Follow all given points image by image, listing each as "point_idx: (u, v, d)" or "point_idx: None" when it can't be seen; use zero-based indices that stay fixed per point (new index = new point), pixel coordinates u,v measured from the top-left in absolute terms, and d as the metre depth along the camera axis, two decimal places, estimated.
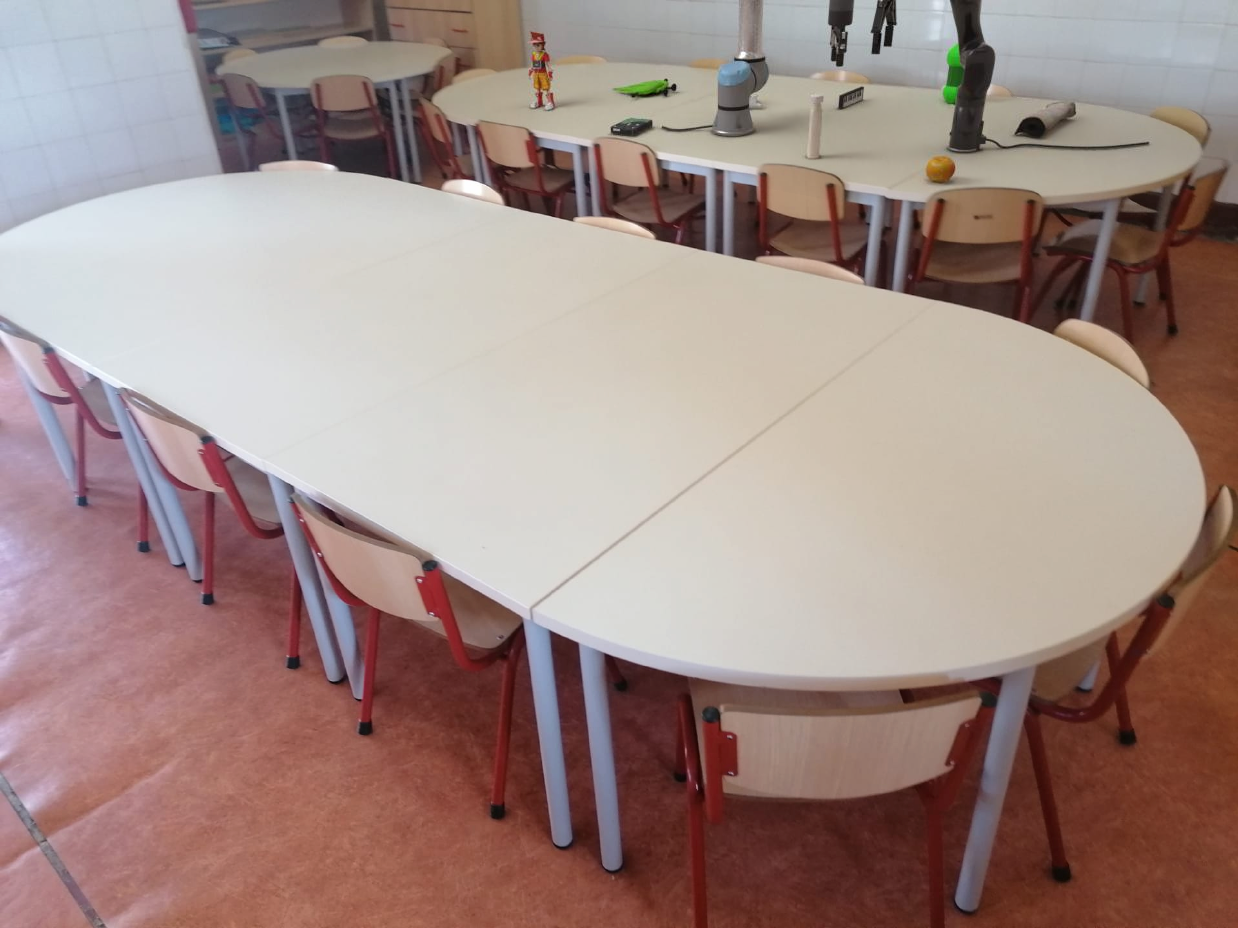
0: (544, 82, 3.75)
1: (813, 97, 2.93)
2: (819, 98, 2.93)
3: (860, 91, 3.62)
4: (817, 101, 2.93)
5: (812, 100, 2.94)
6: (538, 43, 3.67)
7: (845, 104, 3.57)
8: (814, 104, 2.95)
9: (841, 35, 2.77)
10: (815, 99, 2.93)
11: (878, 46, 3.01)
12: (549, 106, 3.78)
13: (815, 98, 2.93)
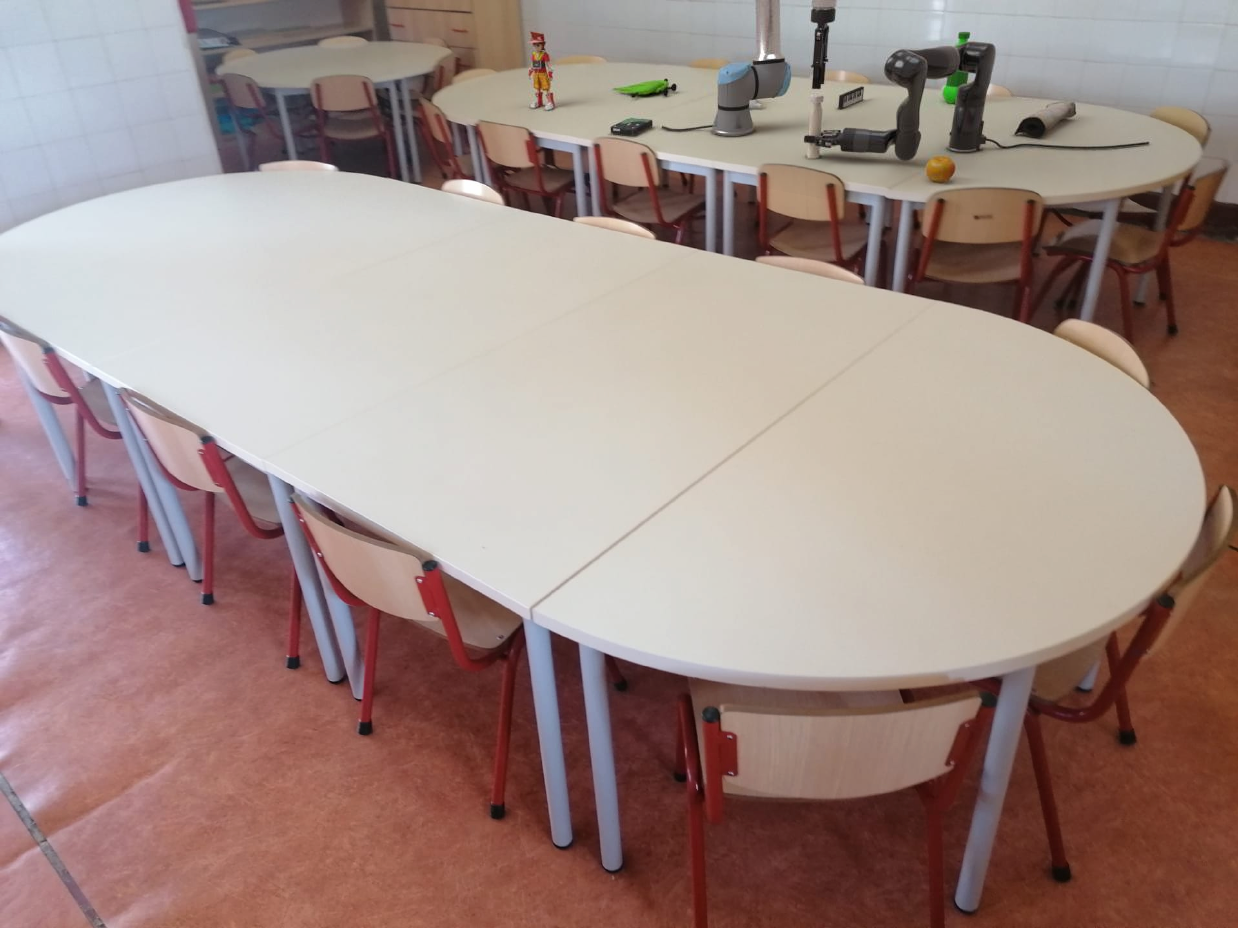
0: (544, 82, 3.75)
1: (813, 97, 2.93)
2: (819, 98, 2.93)
3: (860, 91, 3.62)
4: (817, 101, 2.93)
5: (812, 100, 2.94)
6: (538, 43, 3.67)
7: (845, 104, 3.57)
8: (814, 104, 2.95)
9: None
10: (815, 99, 2.93)
11: None
12: (549, 106, 3.78)
13: (815, 98, 2.93)
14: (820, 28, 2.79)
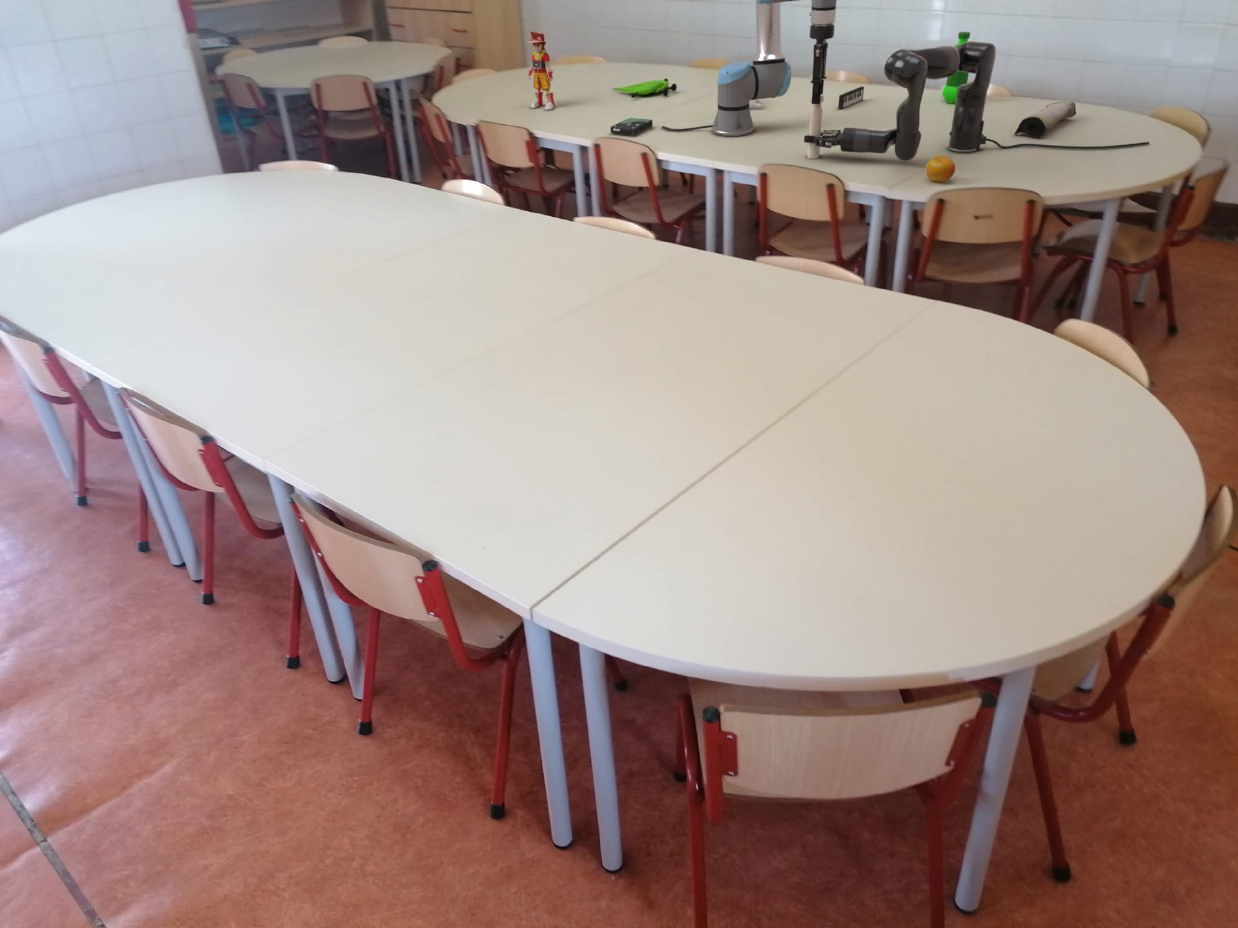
0: (544, 82, 3.75)
1: None
2: None
3: (860, 91, 3.62)
4: None
5: None
6: (538, 43, 3.67)
7: (845, 104, 3.57)
8: (814, 104, 2.95)
9: None
10: None
11: None
12: (549, 106, 3.78)
13: None
14: (819, 44, 2.82)
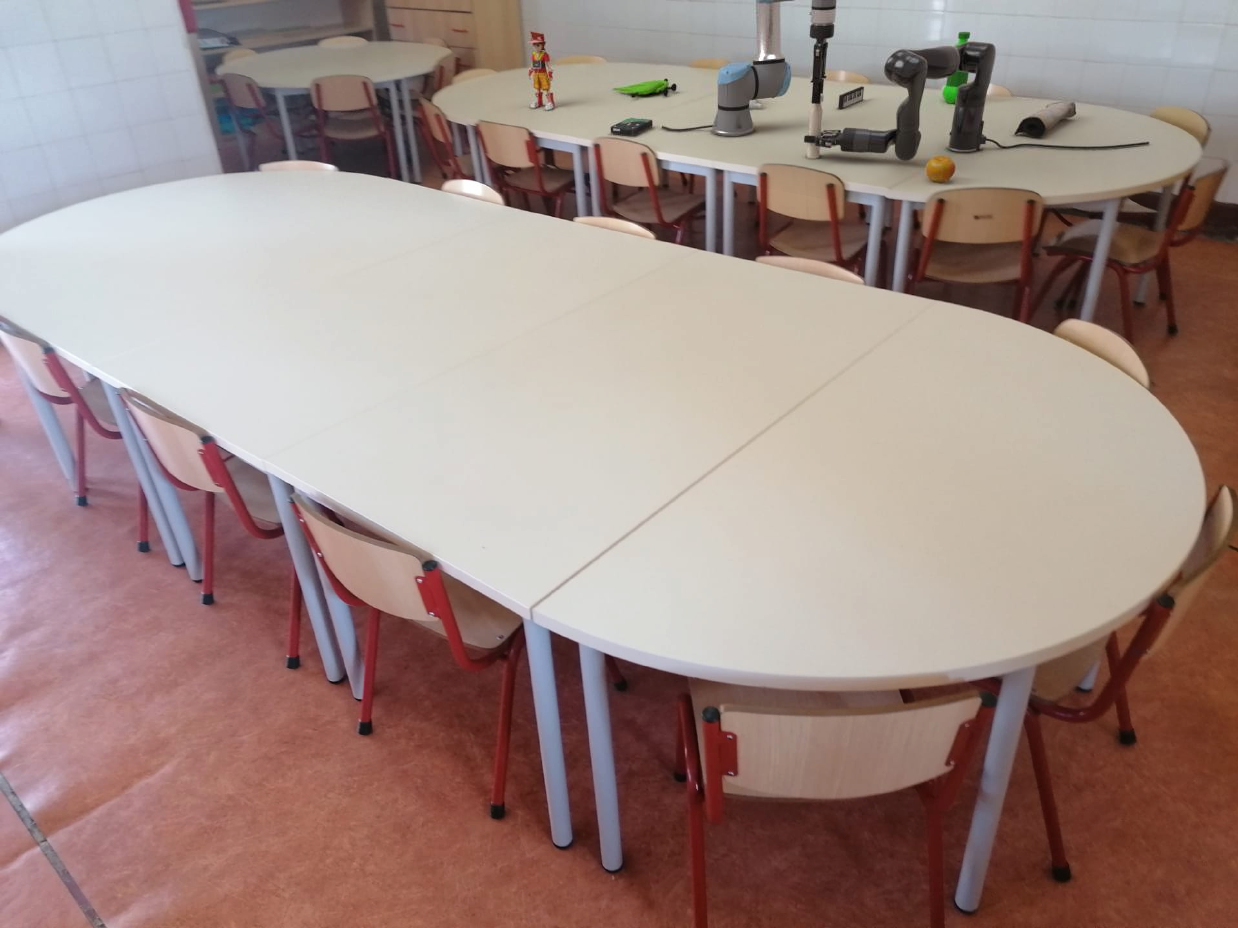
0: (544, 82, 3.75)
1: (823, 95, 2.94)
2: None
3: (860, 91, 3.62)
4: None
5: (822, 99, 2.94)
6: (538, 43, 3.67)
7: (845, 104, 3.57)
8: (814, 104, 2.95)
9: None
10: None
11: None
12: (549, 106, 3.78)
13: None
14: (819, 44, 2.82)
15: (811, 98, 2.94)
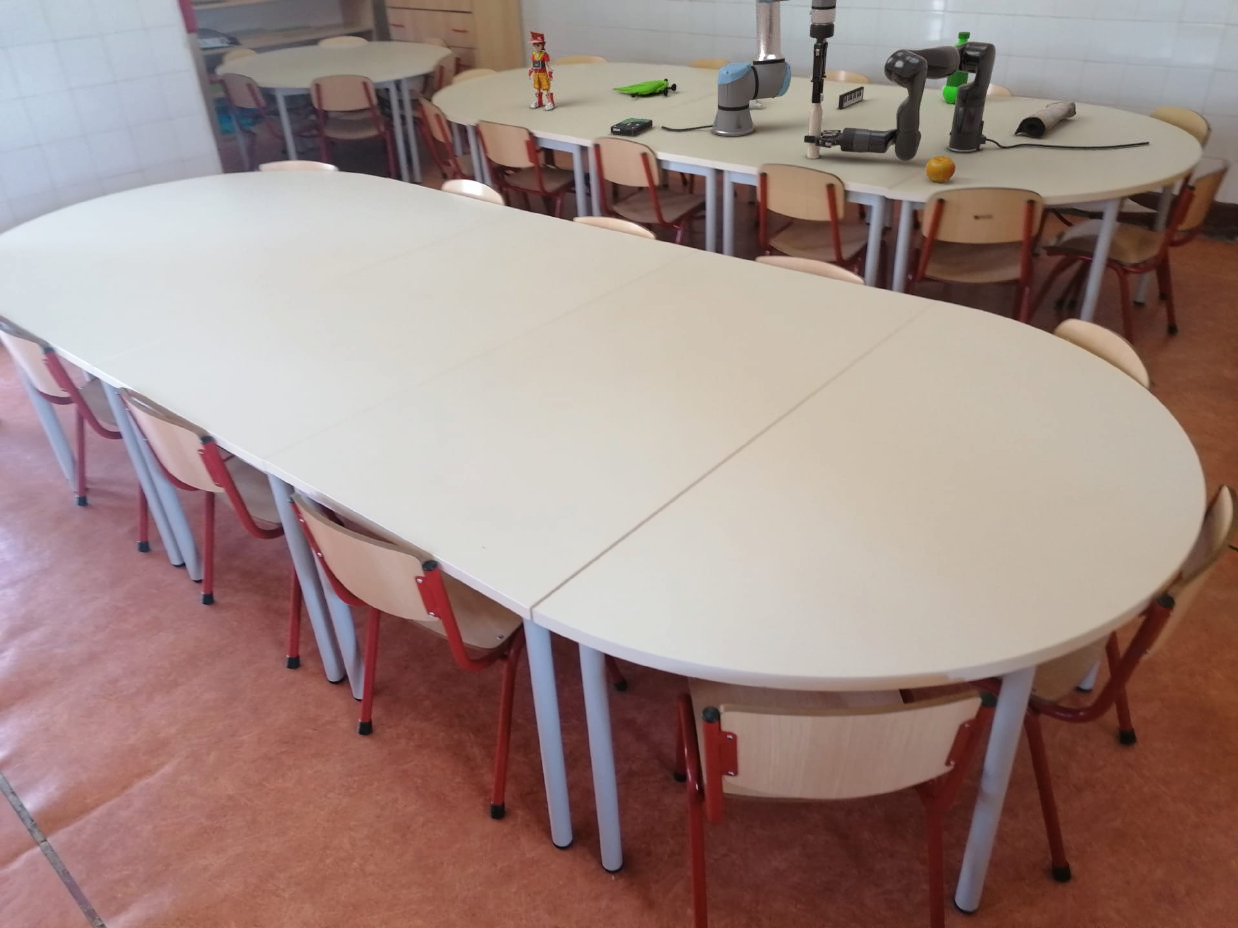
0: (544, 82, 3.75)
1: None
2: (811, 96, 2.94)
3: (860, 91, 3.62)
4: (811, 99, 2.95)
5: None
6: (538, 43, 3.67)
7: (845, 104, 3.57)
8: (814, 104, 2.95)
9: None
10: None
11: None
12: (549, 106, 3.78)
13: None
14: (819, 43, 2.82)
15: (822, 98, 2.93)
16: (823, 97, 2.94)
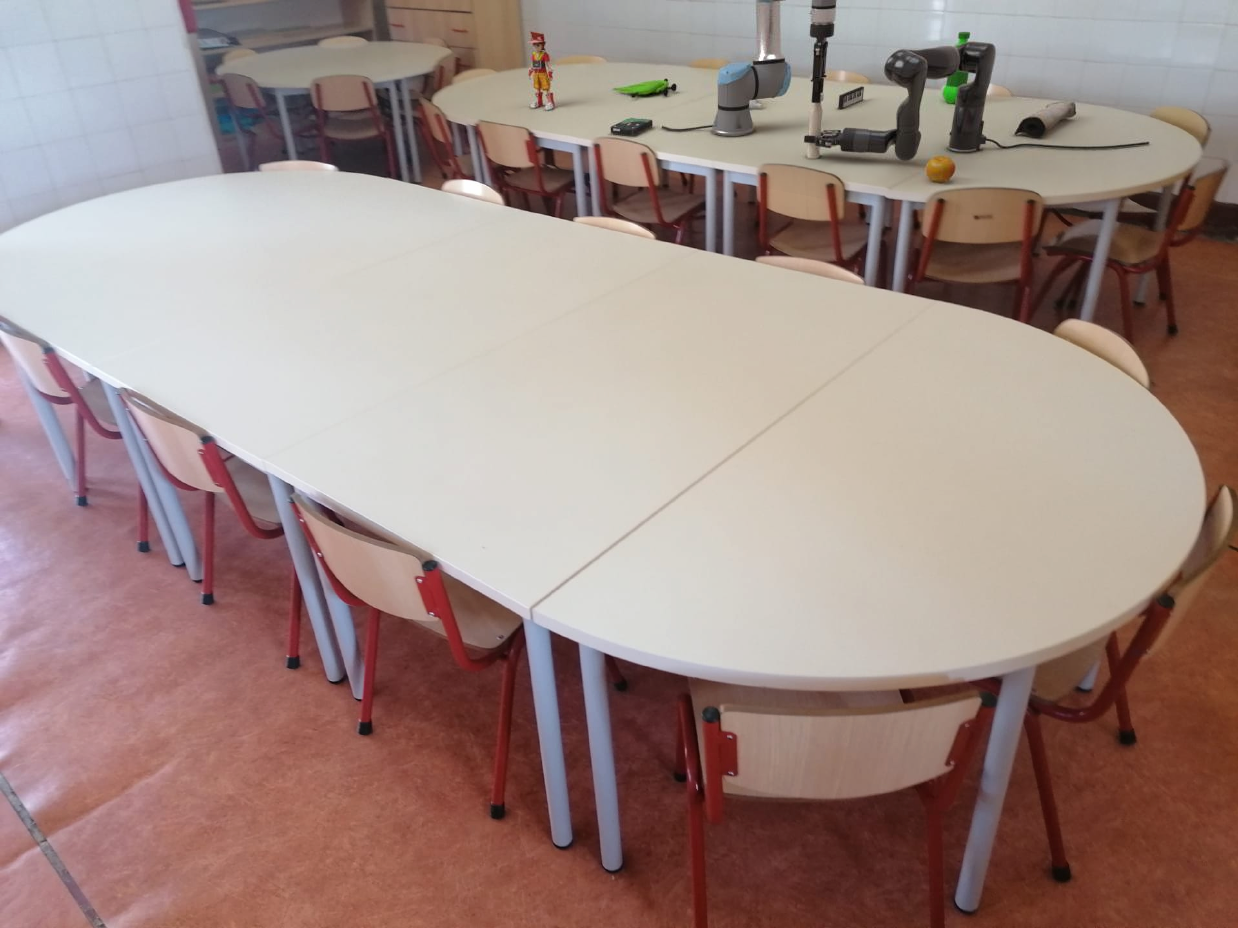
0: (544, 82, 3.75)
1: None
2: (822, 96, 2.93)
3: (860, 91, 3.62)
4: (820, 99, 2.93)
5: None
6: (538, 43, 3.67)
7: (845, 104, 3.57)
8: (814, 104, 2.95)
9: None
10: None
11: None
12: (549, 106, 3.78)
13: None
14: (819, 43, 2.82)
15: None
16: None
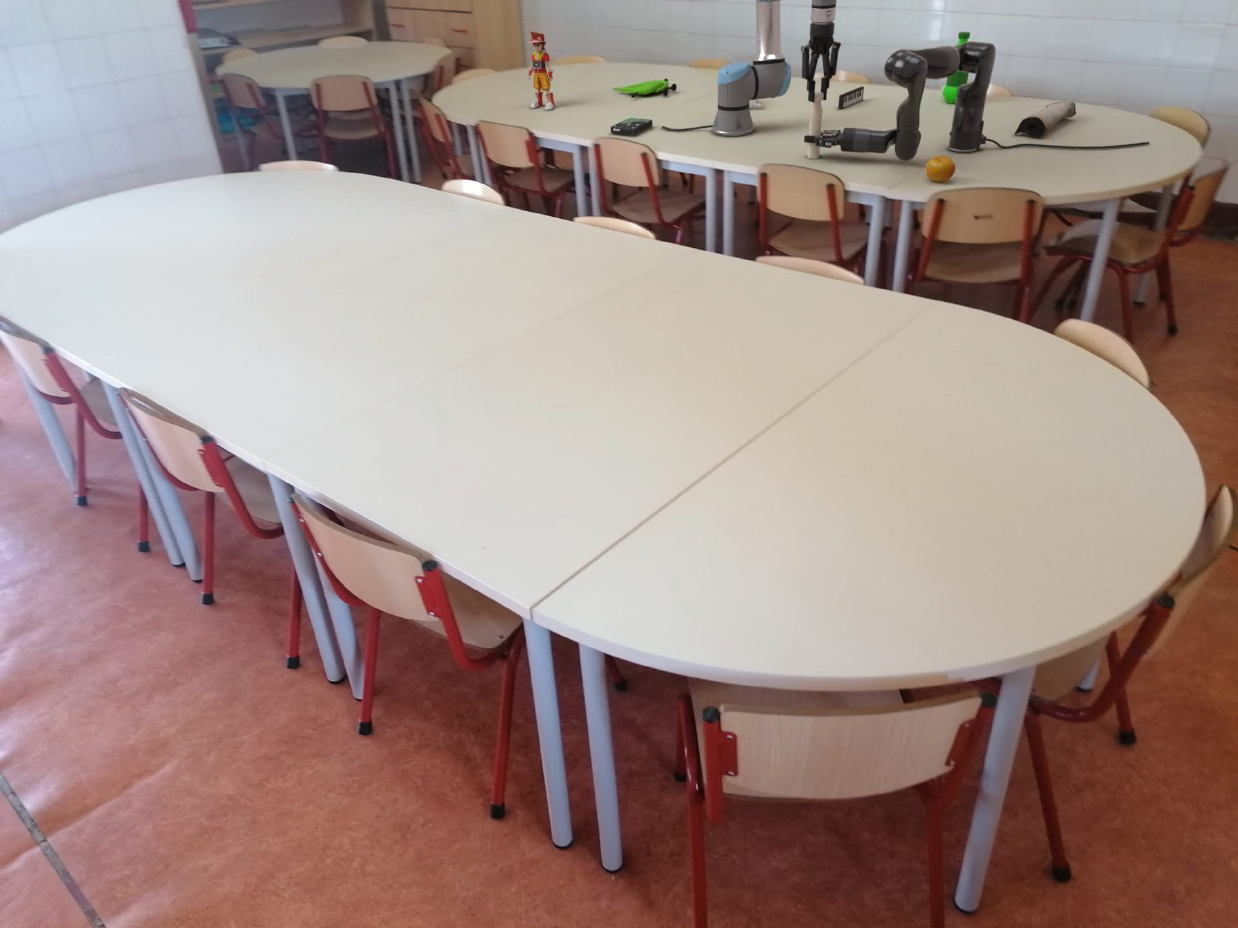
0: (544, 82, 3.75)
1: None
2: None
3: (860, 91, 3.62)
4: None
5: None
6: (538, 43, 3.67)
7: (845, 104, 3.57)
8: (814, 104, 2.95)
9: None
10: None
11: (811, 94, 2.92)
12: (549, 106, 3.78)
13: None
14: None
15: None
16: (815, 97, 2.93)
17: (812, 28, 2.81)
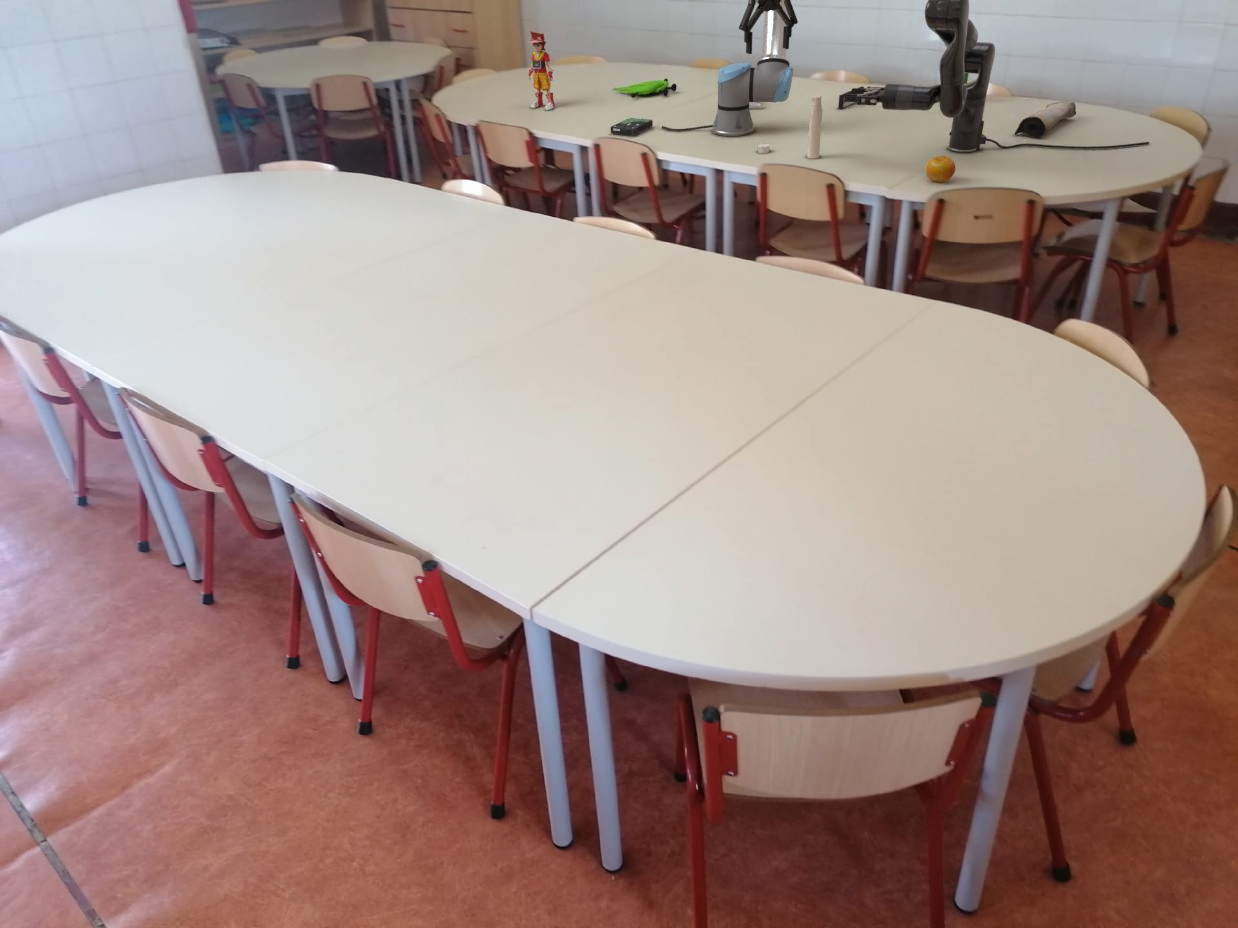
0: (544, 82, 3.75)
1: None
2: None
3: None
4: None
5: None
6: (538, 43, 3.67)
7: (845, 104, 3.57)
8: (814, 104, 2.95)
9: None
10: None
11: (749, 46, 2.91)
12: (549, 106, 3.78)
13: None
14: None
15: (759, 149, 3.12)
16: (761, 149, 3.11)
17: None
